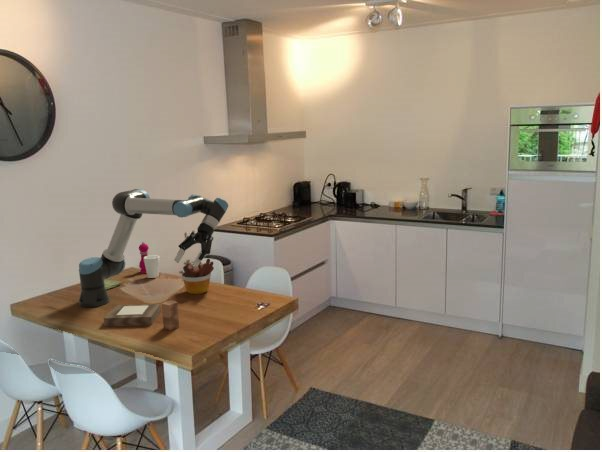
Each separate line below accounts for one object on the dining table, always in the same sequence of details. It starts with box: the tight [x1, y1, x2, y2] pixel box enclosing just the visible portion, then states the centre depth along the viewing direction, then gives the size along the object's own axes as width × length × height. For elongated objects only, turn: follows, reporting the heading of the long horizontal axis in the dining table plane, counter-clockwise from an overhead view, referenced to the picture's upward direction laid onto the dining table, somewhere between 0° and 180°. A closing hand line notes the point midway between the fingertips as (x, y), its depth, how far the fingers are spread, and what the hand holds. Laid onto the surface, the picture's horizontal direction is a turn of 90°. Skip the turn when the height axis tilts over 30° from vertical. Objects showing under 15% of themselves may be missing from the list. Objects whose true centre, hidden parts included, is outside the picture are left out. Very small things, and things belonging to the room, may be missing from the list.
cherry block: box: [161, 300, 180, 331], centre depth 242 cm, size 5×5×12 cm
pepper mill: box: [138, 241, 150, 274], centre depth 336 cm, size 7×7×20 cm
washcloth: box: [104, 278, 123, 291], centre depth 310 cm, size 13×18×3 cm
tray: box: [103, 303, 162, 327], centre depth 255 cm, size 22×18×4 cm
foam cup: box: [144, 254, 161, 279], centre depth 324 cm, size 10×9×13 cm
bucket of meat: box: [178, 258, 215, 295], centre depth 294 cm, size 20×16×20 cm
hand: (185, 263), depth 246 cm, fingers open, 13 cm apart
